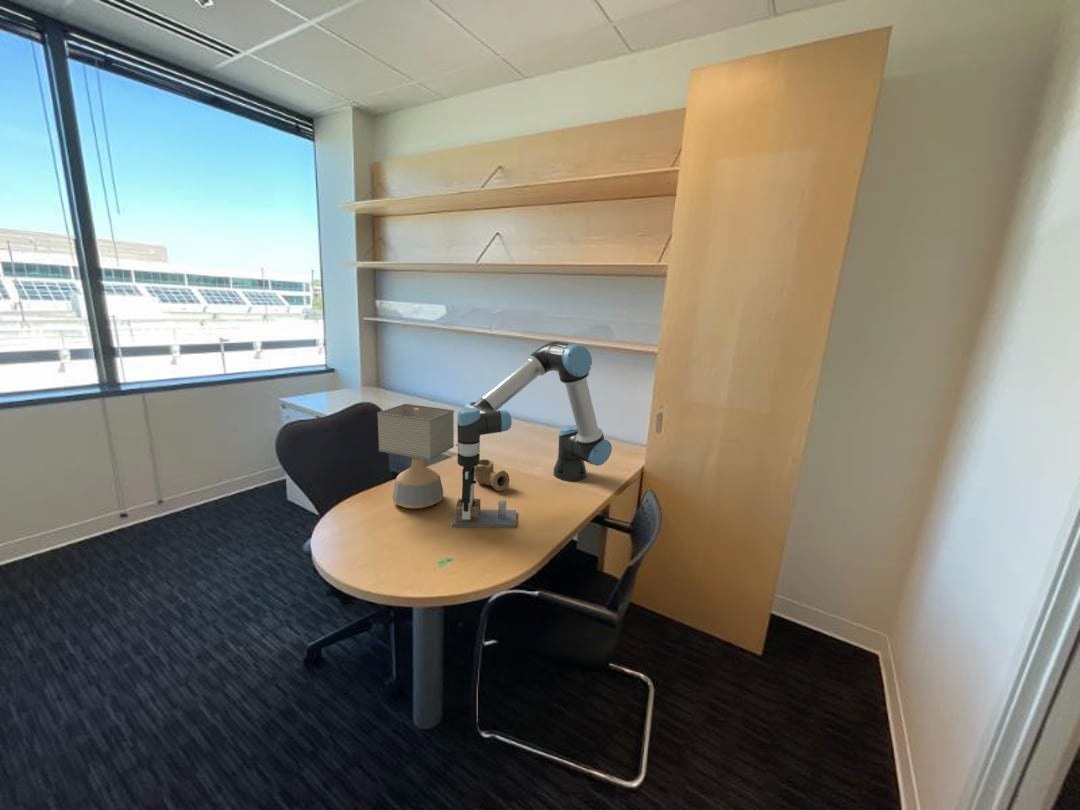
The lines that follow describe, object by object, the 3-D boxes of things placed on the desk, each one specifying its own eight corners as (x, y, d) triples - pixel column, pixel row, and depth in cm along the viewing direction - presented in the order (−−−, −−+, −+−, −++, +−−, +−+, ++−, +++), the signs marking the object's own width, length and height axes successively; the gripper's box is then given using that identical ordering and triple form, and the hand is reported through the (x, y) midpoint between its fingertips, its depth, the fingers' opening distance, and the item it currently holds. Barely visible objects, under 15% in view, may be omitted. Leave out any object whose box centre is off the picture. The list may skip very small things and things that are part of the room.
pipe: (496, 495, 174) (496, 472, 172) (468, 484, 184) (468, 462, 181) (510, 488, 181) (511, 466, 179) (483, 478, 191) (483, 456, 188)
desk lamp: (455, 496, 171) (455, 406, 163) (428, 517, 154) (427, 418, 145) (409, 487, 178) (407, 400, 170) (378, 506, 160) (374, 410, 152)
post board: (515, 512, 160) (516, 484, 158) (515, 527, 150) (516, 498, 147) (456, 511, 159) (456, 484, 156) (451, 526, 148) (451, 497, 146)
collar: (480, 511, 158) (480, 498, 157) (478, 522, 150) (478, 509, 149) (458, 511, 157) (458, 498, 156) (455, 521, 150) (455, 508, 148)
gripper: (461, 441, 160) (461, 494, 165) (452, 466, 136) (452, 527, 141) (482, 441, 160) (481, 494, 165) (476, 466, 136) (475, 527, 141)
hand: (468, 509), depth 153 cm, fingers open, 13 cm apart
